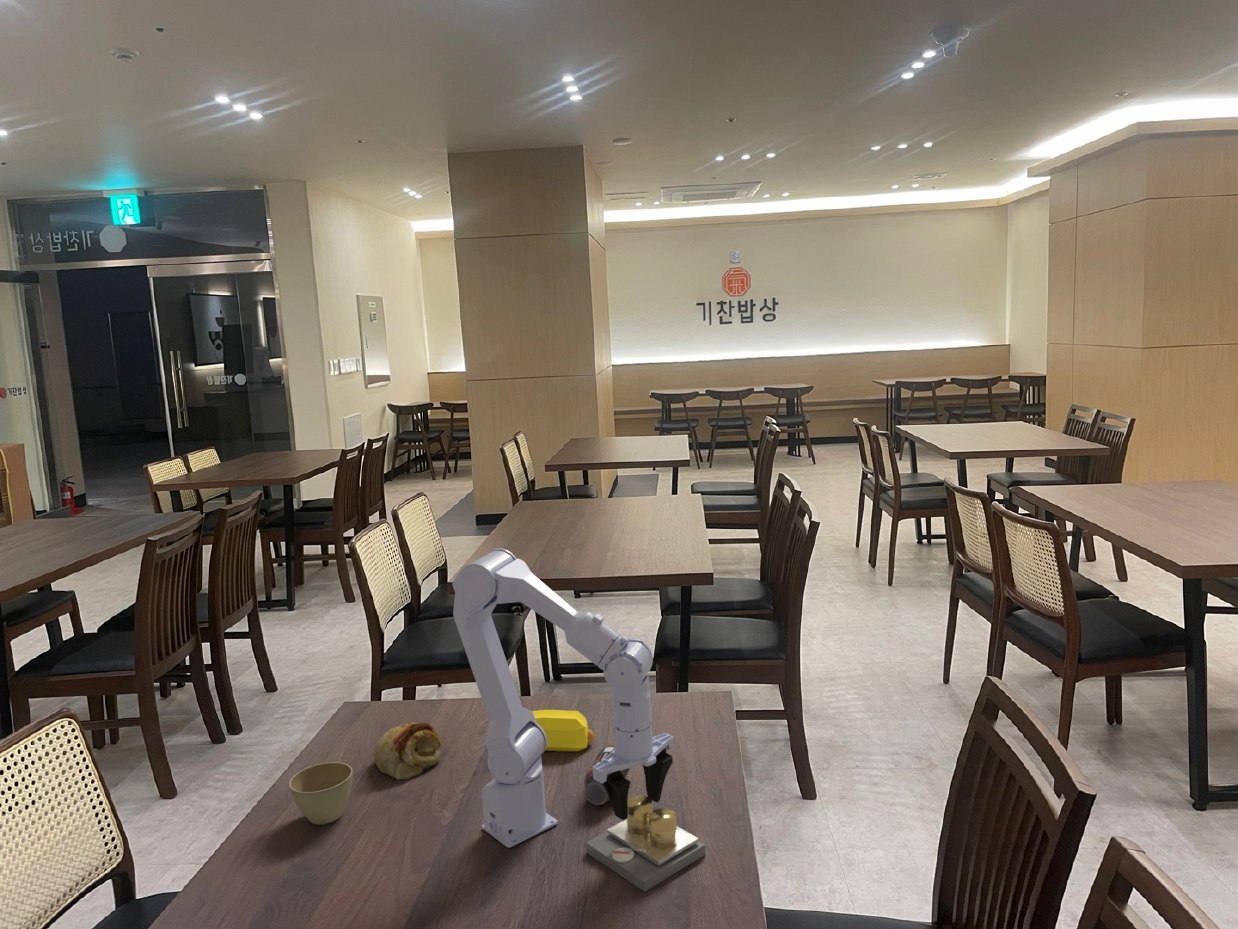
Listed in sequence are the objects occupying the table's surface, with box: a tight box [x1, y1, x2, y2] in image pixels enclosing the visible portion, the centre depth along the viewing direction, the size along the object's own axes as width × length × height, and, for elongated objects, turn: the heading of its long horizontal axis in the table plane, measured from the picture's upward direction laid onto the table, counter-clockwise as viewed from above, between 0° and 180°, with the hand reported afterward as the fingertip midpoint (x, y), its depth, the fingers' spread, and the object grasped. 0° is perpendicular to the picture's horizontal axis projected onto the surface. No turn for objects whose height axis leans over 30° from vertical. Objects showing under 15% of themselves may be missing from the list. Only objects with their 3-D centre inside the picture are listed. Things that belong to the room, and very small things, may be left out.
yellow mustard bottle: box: [530, 709, 595, 752], centre depth 164 cm, size 18×7×8 cm
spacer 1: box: [627, 795, 654, 835], centre depth 131 cm, size 4×4×4 cm
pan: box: [606, 819, 700, 866], centre depth 130 cm, size 8×11×1 cm
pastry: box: [373, 722, 443, 781], centre depth 161 cm, size 14×12×8 cm
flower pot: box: [288, 761, 354, 826], centre depth 144 cm, size 10×10×7 cm
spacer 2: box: [649, 807, 677, 849], centre depth 127 cm, size 4×4×4 cm
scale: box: [585, 831, 706, 893], centre depth 129 cm, size 12×13×2 cm
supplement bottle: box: [583, 744, 631, 806], centre depth 146 cm, size 6×6×11 cm
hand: (637, 808), depth 132 cm, fingers open, 6 cm apart
